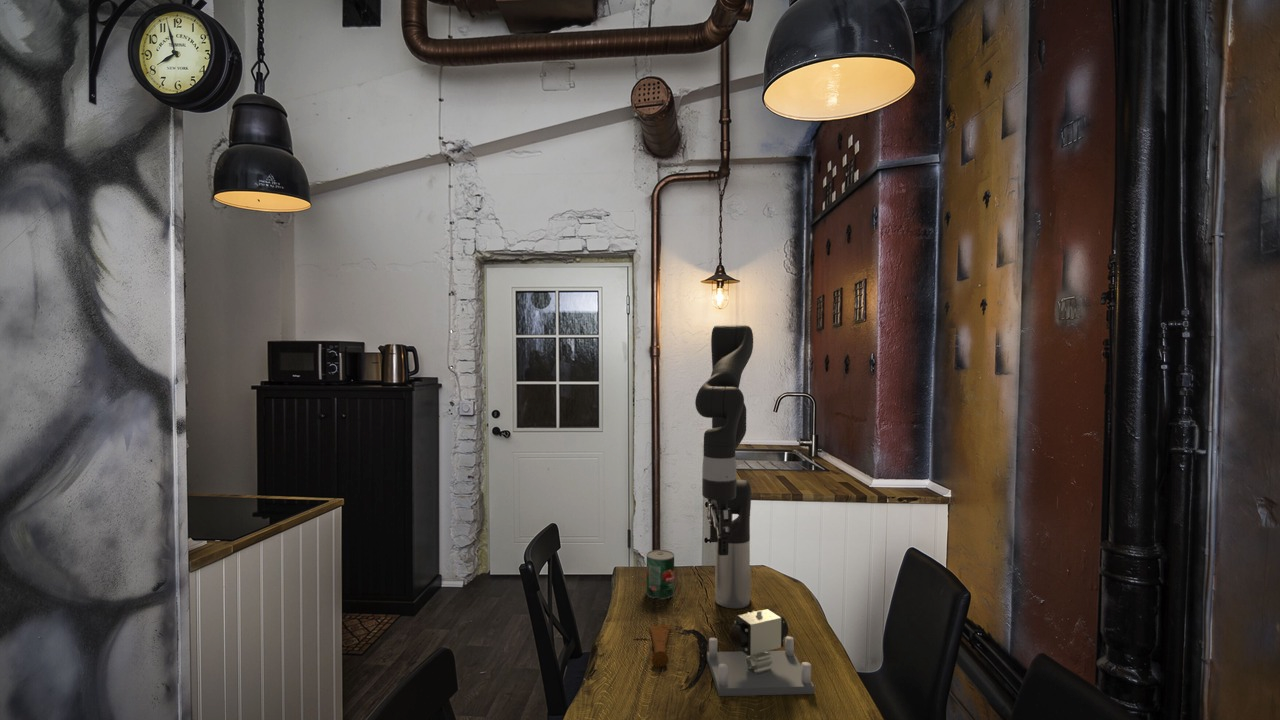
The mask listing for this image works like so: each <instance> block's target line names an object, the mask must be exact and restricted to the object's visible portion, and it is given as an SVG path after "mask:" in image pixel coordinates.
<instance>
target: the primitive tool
mask: <svg viewBox="0 0 1280 720" xmlns="http://www.w3.org/2000/svg"><path fill="white" fill-rule="evenodd" d="M648 631H649V633H650V636H651V641H652V646H653V655H652V656H651V663H652V665H653V666H654V667H657V668H658V667H659V668H663V667H666V666H667V665H668V663H669V657H668V654H667V653H666V652H667V649H666V648H667V643H668V640H669V634H670V632H672V628H671V626H670V625H669V624H660V625H649V626H648Z"/></svg>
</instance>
